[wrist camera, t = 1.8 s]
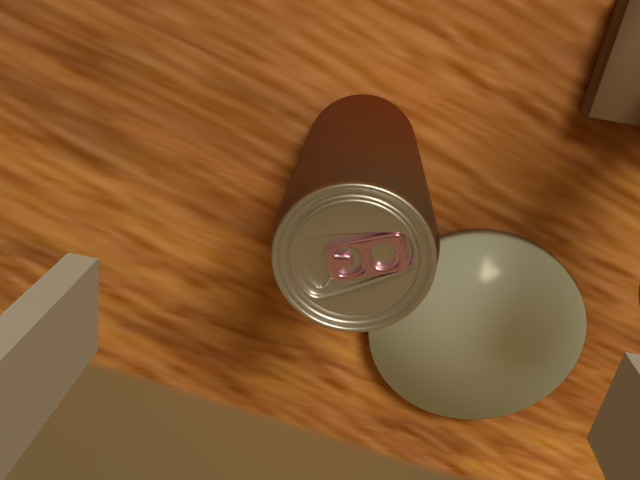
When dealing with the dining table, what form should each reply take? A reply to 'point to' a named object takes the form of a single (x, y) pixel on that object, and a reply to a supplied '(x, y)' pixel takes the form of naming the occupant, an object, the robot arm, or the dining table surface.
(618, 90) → the balance
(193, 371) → the dining table surface
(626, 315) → the dining table surface
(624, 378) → the robot arm
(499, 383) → the dish
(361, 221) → the beverage can
